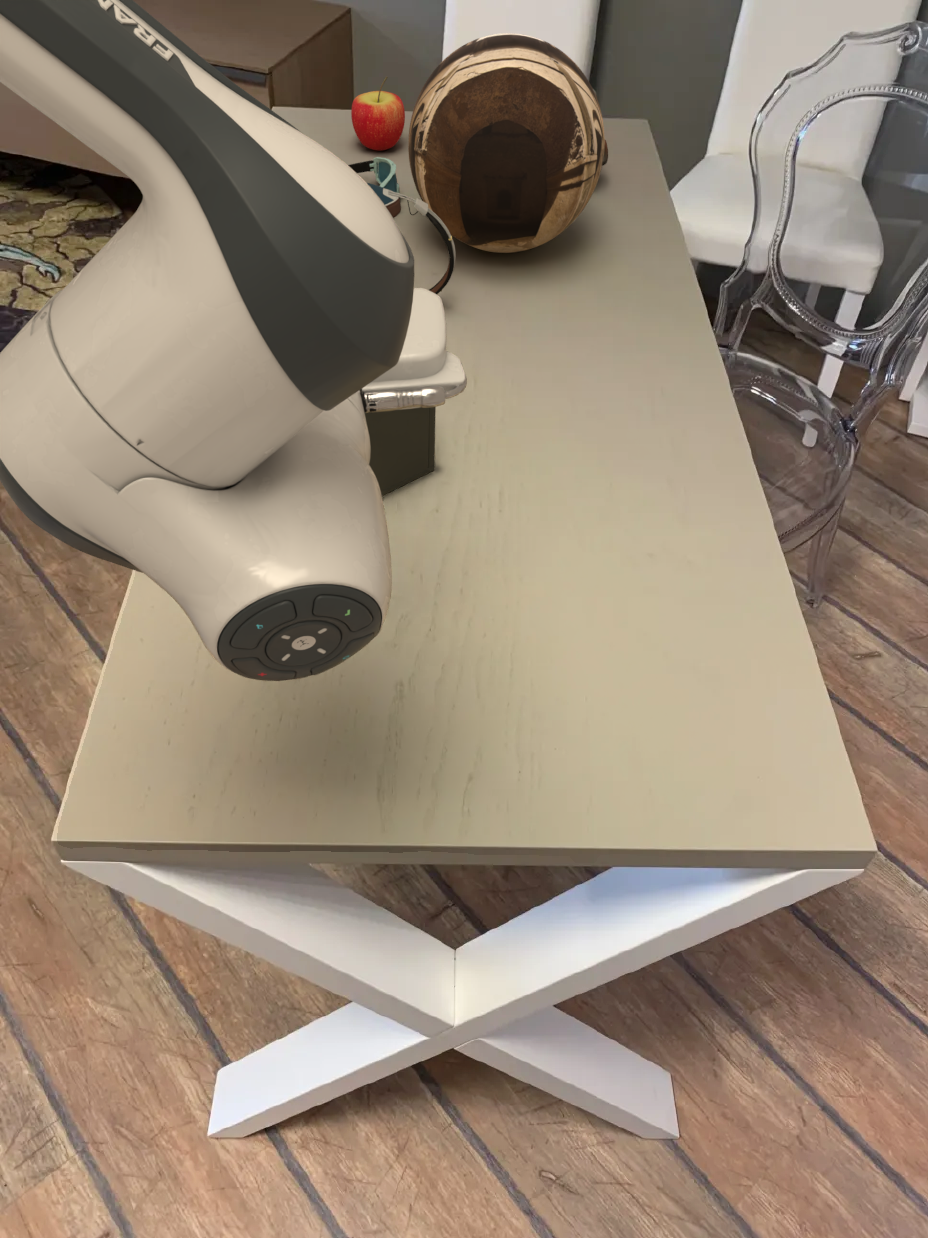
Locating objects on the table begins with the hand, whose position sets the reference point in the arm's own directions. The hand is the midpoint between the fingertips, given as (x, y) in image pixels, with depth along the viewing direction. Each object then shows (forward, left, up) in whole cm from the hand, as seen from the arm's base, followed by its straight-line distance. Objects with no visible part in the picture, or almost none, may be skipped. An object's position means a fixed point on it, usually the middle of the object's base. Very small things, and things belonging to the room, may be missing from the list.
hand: (264, 282), depth 58 cm
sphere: (+59, +43, -32) cm, 80 cm away
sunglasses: (+49, +65, -32) cm, 88 cm away
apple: (+64, +78, -32) cm, 106 cm away
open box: (+14, +17, -32) cm, 39 cm away
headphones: (+35, +40, -32) cm, 62 cm away
